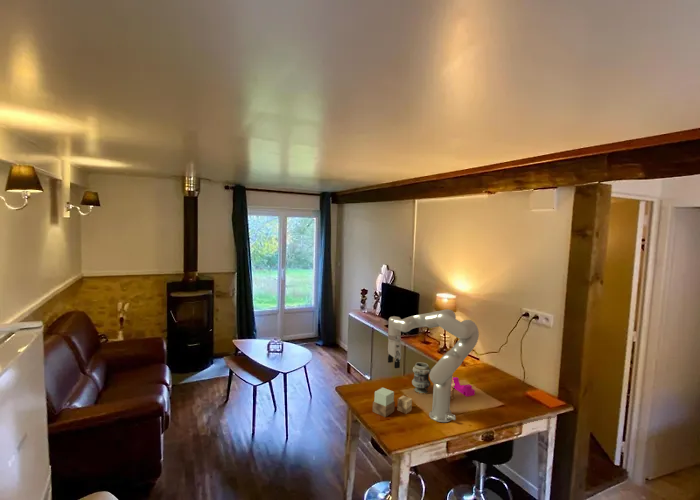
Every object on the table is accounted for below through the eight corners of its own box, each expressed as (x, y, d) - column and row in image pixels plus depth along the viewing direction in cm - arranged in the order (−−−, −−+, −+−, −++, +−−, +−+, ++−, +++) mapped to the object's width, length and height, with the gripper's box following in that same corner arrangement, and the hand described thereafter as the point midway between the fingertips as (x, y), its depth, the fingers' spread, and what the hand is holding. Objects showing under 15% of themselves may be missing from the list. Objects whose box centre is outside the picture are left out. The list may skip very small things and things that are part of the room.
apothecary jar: (424, 386, 252) (425, 360, 251) (433, 394, 241) (435, 367, 240) (408, 388, 248) (409, 361, 247) (416, 396, 237) (418, 368, 236)
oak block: (411, 410, 218) (412, 398, 218) (406, 413, 214) (406, 402, 213) (402, 406, 222) (403, 395, 222) (397, 410, 218) (397, 398, 217)
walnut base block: (394, 411, 216) (394, 401, 216) (385, 417, 209) (385, 407, 209) (381, 406, 222) (381, 396, 221) (372, 412, 215) (372, 401, 214)
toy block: (474, 396, 240) (475, 385, 239) (466, 398, 237) (467, 386, 237) (458, 387, 253) (459, 376, 253) (451, 388, 251) (452, 377, 251)
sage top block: (393, 401, 216) (394, 391, 215) (385, 406, 209) (386, 396, 209) (382, 397, 221) (382, 387, 220) (374, 401, 215) (374, 391, 214)
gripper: (406, 341, 218) (405, 369, 219) (394, 333, 235) (393, 359, 236) (394, 341, 216) (393, 370, 217) (383, 333, 232) (382, 360, 233)
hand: (393, 365), depth 226 cm, fingers open, 9 cm apart
